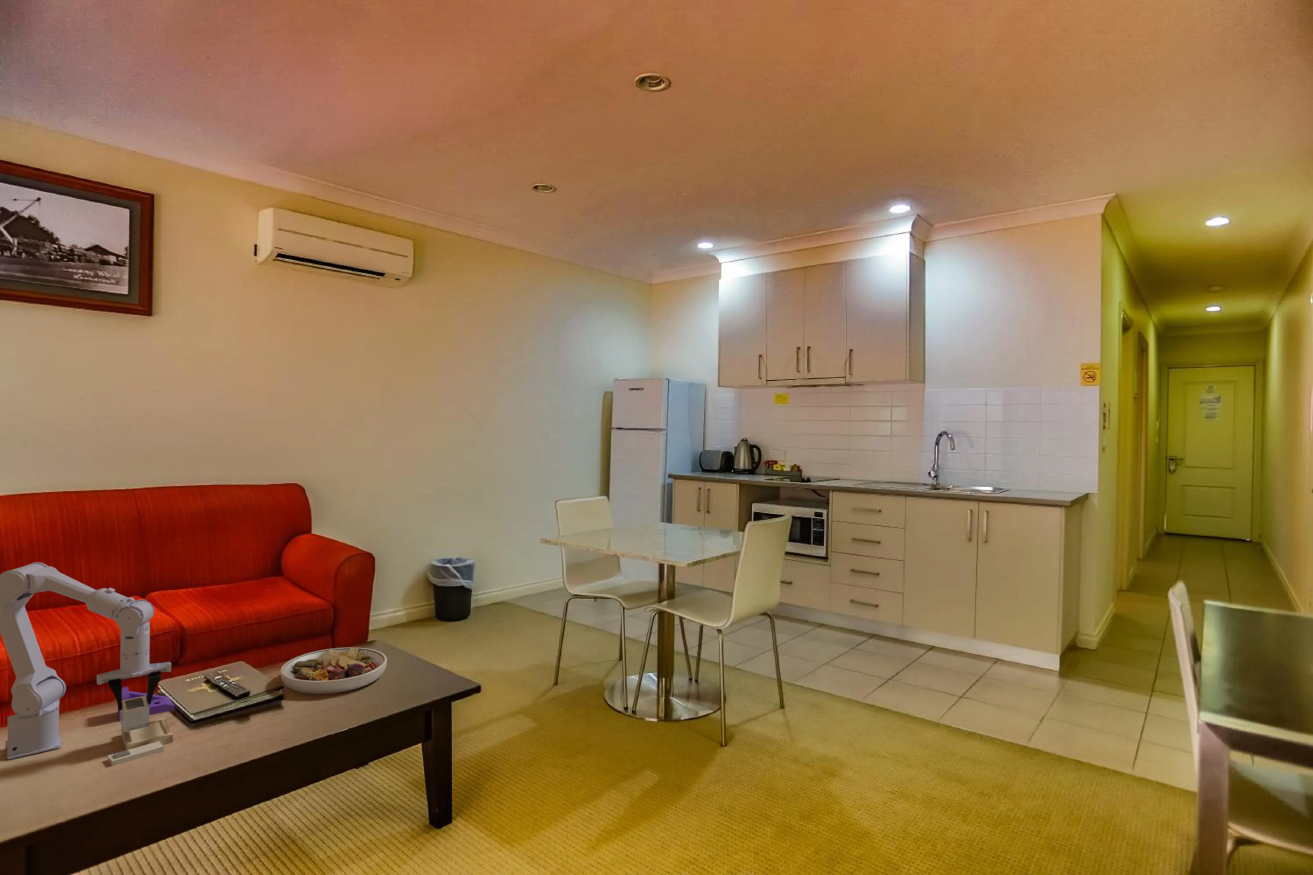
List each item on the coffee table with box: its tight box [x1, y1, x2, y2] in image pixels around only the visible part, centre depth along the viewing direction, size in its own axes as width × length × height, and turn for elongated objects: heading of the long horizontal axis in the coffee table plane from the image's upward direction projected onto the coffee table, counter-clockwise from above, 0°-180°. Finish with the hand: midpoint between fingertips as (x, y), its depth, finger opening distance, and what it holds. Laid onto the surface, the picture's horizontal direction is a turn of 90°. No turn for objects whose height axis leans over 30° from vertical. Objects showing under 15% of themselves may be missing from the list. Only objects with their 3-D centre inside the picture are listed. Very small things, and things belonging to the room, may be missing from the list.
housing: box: [119, 696, 150, 732], centre depth 170 cm, size 5×8×5 cm, turn 42°
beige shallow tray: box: [121, 717, 174, 750], centre depth 172 cm, size 9×12×2 cm
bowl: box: [280, 646, 388, 695], centre depth 215 cm, size 30×30×8 cm
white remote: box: [107, 741, 165, 767], centre depth 164 cm, size 4×10×2 cm, turn 140°
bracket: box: [117, 686, 176, 722], centre depth 188 cm, size 12×7×7 cm, turn 131°
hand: (134, 705), depth 170 cm, fingers closed on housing, 5 cm apart
